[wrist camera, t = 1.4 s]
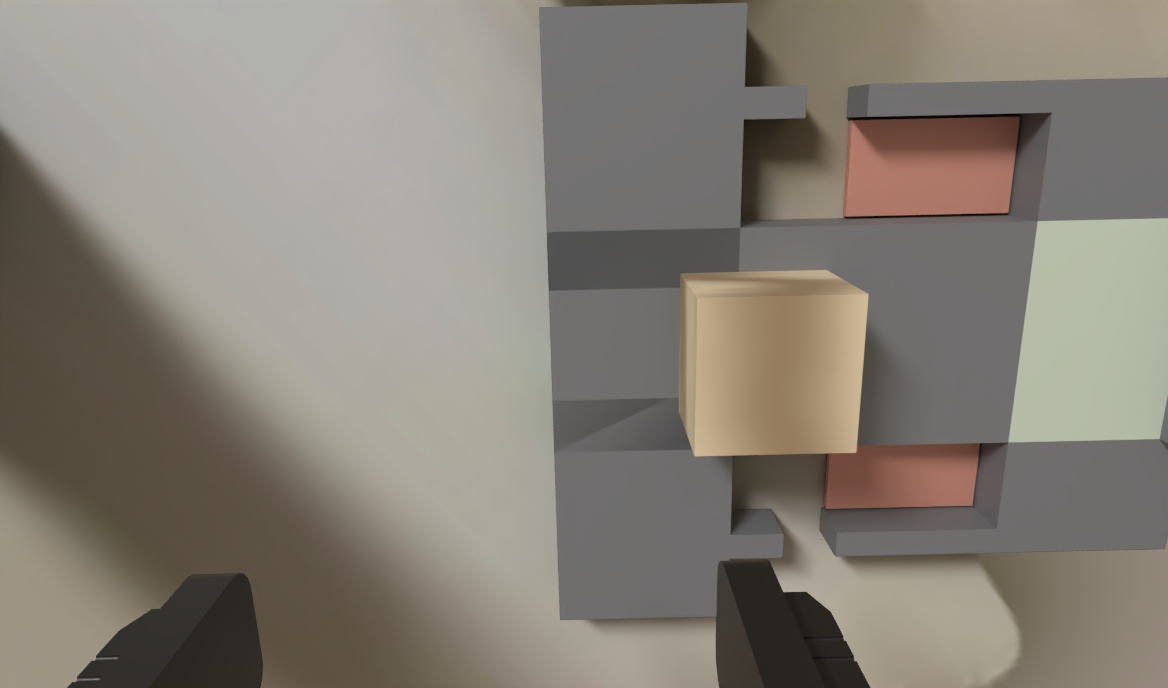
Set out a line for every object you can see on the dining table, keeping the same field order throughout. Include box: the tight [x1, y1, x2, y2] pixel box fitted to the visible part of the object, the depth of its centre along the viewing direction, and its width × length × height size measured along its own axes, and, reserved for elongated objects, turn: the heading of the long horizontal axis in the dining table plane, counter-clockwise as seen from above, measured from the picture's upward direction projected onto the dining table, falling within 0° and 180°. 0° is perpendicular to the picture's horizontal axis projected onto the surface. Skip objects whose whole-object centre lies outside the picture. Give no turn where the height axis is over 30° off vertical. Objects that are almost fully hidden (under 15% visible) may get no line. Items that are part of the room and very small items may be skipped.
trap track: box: [539, 3, 1168, 620], centre depth 28 cm, size 23×22×4 cm
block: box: [679, 270, 869, 456], centre depth 25 cm, size 5×5×4 cm
